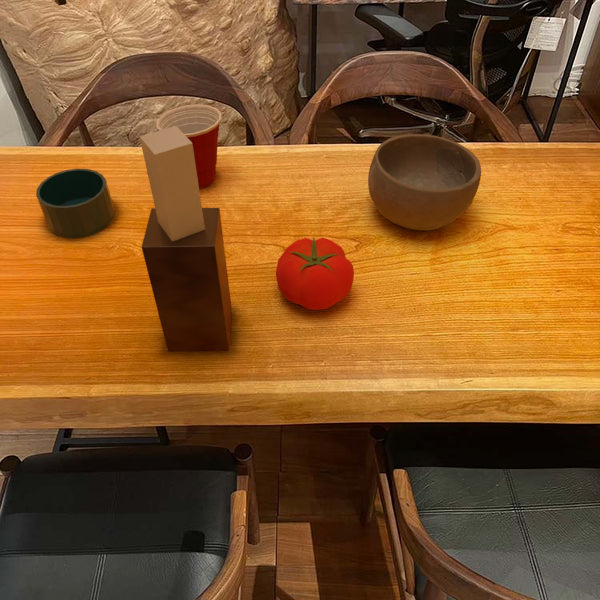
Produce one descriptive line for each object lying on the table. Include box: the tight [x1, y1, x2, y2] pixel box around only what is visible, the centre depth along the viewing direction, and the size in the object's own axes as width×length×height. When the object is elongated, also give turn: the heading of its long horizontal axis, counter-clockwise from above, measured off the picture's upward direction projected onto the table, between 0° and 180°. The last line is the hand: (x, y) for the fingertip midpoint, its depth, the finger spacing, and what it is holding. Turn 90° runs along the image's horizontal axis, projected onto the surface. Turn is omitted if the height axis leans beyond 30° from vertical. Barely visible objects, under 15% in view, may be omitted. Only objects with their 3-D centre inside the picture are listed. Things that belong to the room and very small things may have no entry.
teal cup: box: [35, 168, 115, 239], centre depth 94 cm, size 11×11×6 cm
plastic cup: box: [155, 104, 222, 189], centre depth 100 cm, size 11×11×12 cm
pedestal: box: [141, 207, 233, 352], centre depth 73 cm, size 8×7×18 cm
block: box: [139, 126, 205, 242], centre depth 62 cm, size 4×4×11 cm
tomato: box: [275, 236, 355, 311], centre depth 82 cm, size 11×11×8 cm
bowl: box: [367, 133, 482, 231], centre depth 94 cm, size 17×18×10 cm
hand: (12, 12), depth 52 cm, fingers open, 8 cm apart
